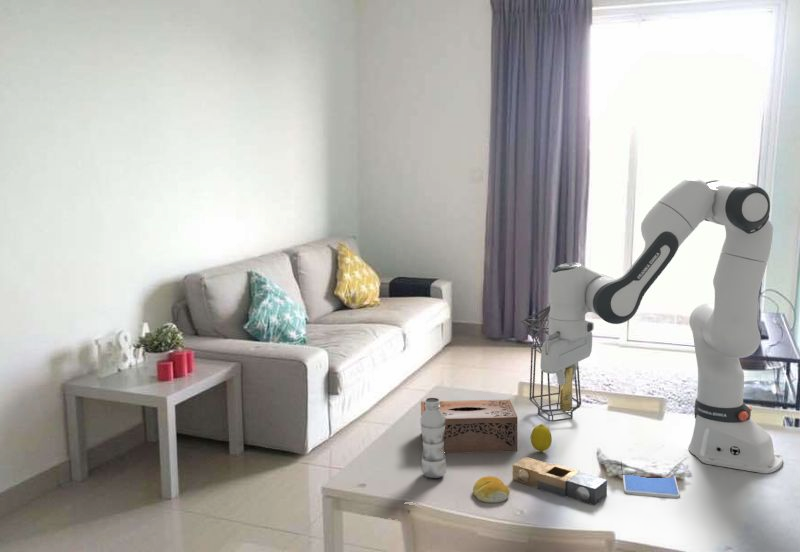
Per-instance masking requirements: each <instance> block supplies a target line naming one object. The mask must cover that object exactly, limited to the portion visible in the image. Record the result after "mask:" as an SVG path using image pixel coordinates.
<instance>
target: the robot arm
mask: <svg viewBox="0 0 800 552" xmlns="http://www.w3.org/2000/svg"><path fill="white" fill-rule="evenodd" d="M770 211H771V201H770V197H769V194H768V193H767V191H766V190H764V189H763V188H762V187H760V186H758V185H756V184H754V183H753V184H752V183H745V182H742V181H736V180H726V181H725V180H716V179H715V180H710V181H706V182H705V181H704V180H701V179H700V178H699V179H698V178H694V177H692V178H689V177H688V178H687V179H684V180H682V181H681V182H680V183H678V184H677V185H675V186H674V187H672V188H671V189H670V190H669V191H668V192H667V193H666V194H664V195H663V196H662V197H661V198H660V199H659V200H658V201H657V203H655V204H654V205H653V206H652V207H651V209H650V210H649V211H648V212H647V214H646V215H645V217H644V218H643V220H642V222H641V225H640V232H641V236H642V238H643V241H644V242H645V243H644V248H643V250H642V252H641V254H640V255H639V256H638V257H637V259H636V260H635V261H634V263H633V264H632V265H631V266H630V267H629V268H628V269H627V270H626V272H625V273H624V274H623V275H622V276H620V277H619V278H616V279H615V278H613V277H611V276H609V275H605V274H601V273H599V272H596V271H593V270H592V269H590V268H588V267H585V265H584V264H582V263H580V262H566V263H560V264H559V265H557V266H555V267H554V268H552V271H551V273H550V277H549V283H548V284H549V286H548V302H549V306H550V312H549V317H548V319H549V323H548V328H549V329H548V330H549V332H548V333H549V335H548V336H547V338H546V339H545V341H543V342H542V343H543V345H541V350H542V351H540V352H541V353H540V365H539V366H540V371H541V370H542V372H543V373H546V374H547V373H549V375H550V374H551V375H555V376H556V378H557V385H558V386H559V385H564V384H566V383H567V377H565V375H564V372H565V368H567V367H569V366H571V367H572V381H575V373H576V374H577V367H578V366H579V362H581V361H583V360H585V359H587V358H589V357H590V356H591V354H592V352H593V351H592V350H593V333H592V331H593V330H594V329H595V328H594V327H595V326H594V322H593V321H588V320H586V314H587V313H594V314H595V315H597V316H598V317H599V318H600V319H602V320H603V321H605V322H607V323H608V324H613V325H620V324H624V323H626V322H628V321H629V320H631V319H632V318H633V317H634V316H635V314H636V313H637V312H638V310H639V307H640V305H641V302H642V300H643V298H644V296H645V294H646V293H647V291H648V290H649V289H650V288H651V286H652V285H653V284H654V283H655V281H657V278H659V276H660V275H661V274H662V273H663V271H664V270H665V269H666V267H668V265H669V264H670V262H671V261H672V260H673V258H674V257H675V256H676V253H677V251H678V250H679V247H681V245H682V244H683V243H684V241H686V239H687V238H688V237H689V236H690V235H691V234H692V233H693V232H694V231H695V230H696V228H697V227H698V226H699V225H700V224H701V223H702V222H704V221H705V222H706V221H707V222H712V223H714V224H716V225H721V226H724V228H725V239H724V240H723V241H724V242H723V245H722V248H721V251H720V255H719V257H718V262H717V264H716V268H715V272H714V275H713V280H712V282H713V283H712V284H713V288H714V303H703V304H700V305H698V306H697V307H695V308H694V309H693V310H692V312H691V313H690V316H689V320H688V321H689V327H690V330H691V332H692V338H693V345H694V350H695V357H696V363H697V393H696V394H697V395H696V398H695V402H694V411H693V413H694V419H695V421H694V426H693V427H694V428H693V433H692V436H691V440H690V443H689V445H688V451H689V452H690V453H691V454H692V455H694V456H695V457H697V458H698V459H699V460H700V461H701V463H703V464H707V465H713V466H719V467H725V468H729V469H737V470H742V471H747V472H754V473H759V474H770V473H773V472H775V471H777V470H779V469H780V468H781V467H782V466H783V463H784V459H783V455H782V454H781V453H780V452H778V451H775V450H774V443H773V439H772V436H771V434H770V433H768V432H767V431H766V430H764V429H763V428H762V427H761V426H760V425H758V423H756V422H755V421H754V420H753V419H751V416H752V415H751V414H752V413H751V412H752V409H753V406H752V405H750V406H747V404H745V403H744V385H745V373H744V371H743V368H742V364H741V361H740V359H743V358H748V357H750V356H752V355H753V354H755V352H756V351H757V350H758V349H759V348H760V345H761V339H762V337H761V333H760V332H761V331H760V329H759V326H758V324H759V323H758V313H759V312H758V311H759V309H758V308H759V297H760V292H761V291H760V289H761V286H762V282H763V278H764V275H765V271H766V267H767V265H768V262H769V258H770V253H771V249H772V243H773V232H774V227H773V226H774V225H773V224H772V222H771V221H770V220H769V218H770Z"/></svg>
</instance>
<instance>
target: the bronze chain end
mask: <svg viewBox="0 0 800 552" xmlns="http://www.w3.org/2000/svg"><path fill="white" fill-rule="evenodd" d="M577 472H581V471H580V470H579V469H574V468H570V467H568V466H563V465H559V464H556V463H552V462H551V463H550V462H549V463H548V462H545V461H542V460H539V459H535V458H531V457H528V456H525V457H522V458H521V459H519V460H518V461H516V462H515V463H512V480H513V481H515V482H519V483H523V484H526V485H529V486H531V487H535V488H538V481H540V482H543V483H547V484H550V485H553V486H556V487H560V488H563V489H566V480H568V479H569V478H571V477H572V476H573V475H575V474H576V473H577ZM555 474H556V475H559V476H562V477H559V476H555Z"/></svg>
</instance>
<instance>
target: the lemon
mask: <svg viewBox="0 0 800 552" xmlns="http://www.w3.org/2000/svg"><path fill="white" fill-rule="evenodd" d="M552 438H553V435H552V433H551V430H550V428H549V427H548V426H546V425H544V424H542V423H540V424H538V425H536V426H534V427H533V429H532V430H531V434H530V443H531V446H532V447H533V448H534V449H535V450H537V451H538V452H539V453H543V452H545V451H547V450H548V449H549V448H550V447H551V445H552V440H553V439H552Z"/></svg>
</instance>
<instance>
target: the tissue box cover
mask: <svg viewBox="0 0 800 552" xmlns="http://www.w3.org/2000/svg"><path fill="white" fill-rule="evenodd" d="M439 409H440V411H441V412H442V413H443V415H444V417H445V431H444V452H445V454H454V453H455V454H458V453H460V454H461V453H463V454H464V452H466V453H496V452H497V453H502V452H504V453H505V452H518V415H517V412H516V410H515V408H514V406H513V403H512V401H511V399H478V400H476V399H475V400H469V399H468V400H440V408H439ZM425 410H426V408H425V401H421V402H420V415H421V416H422V414H423V412H424V411H425ZM421 416H420V417H421ZM421 445H422V447H423V436H422V435H421ZM422 447H421V448H422Z"/></svg>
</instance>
